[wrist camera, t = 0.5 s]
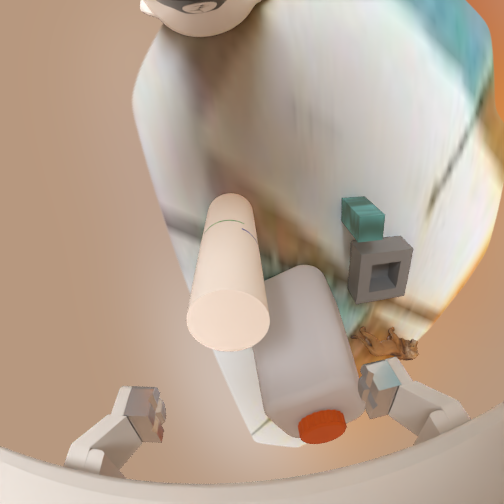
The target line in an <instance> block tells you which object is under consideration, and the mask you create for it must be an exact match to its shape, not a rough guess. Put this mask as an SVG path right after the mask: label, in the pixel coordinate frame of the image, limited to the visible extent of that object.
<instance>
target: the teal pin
mask: <svg viewBox="0 0 504 504" xmlns="http://www.w3.org/2000/svg"><path fill="white" fill-rule="evenodd" d="M384 220H385V214H384V213H383V212H381V211H380V210H379V209H378V208H377V207H376V206H375V205H373V204H372V203H371V202H370V201H369V200H368V199H367V198H365V197H350V198H342V215H341V221H342V222H343V224H344V225H345V226H346V227H347V229H348V230H349V231H350V232H351V234H352V235H353V236H354V238H355V239H356V240H357V242H367V241H376V240H383V230H384Z"/></svg>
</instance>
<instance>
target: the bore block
mask: <svg viewBox="0 0 504 504" xmlns="http://www.w3.org/2000/svg"><path fill="white" fill-rule="evenodd" d="M412 253H413V248H412V247H411V246H410V245H409V244H408V243H407V242H406V241H405V240H404V239H403V238H402V237H401V236H394V237H385V238H383V240H376V241H367V242H357V241H351V254H350V267H349V279H348V290H349V292H350V294H351V296H352V297H353V299H354V301H355V303H356V304H360V303H366V302H372V301H378V300H383V299H389V298H394V297H400V296H404V293H405V289H406V284H407V279H408V274H409V269H410V264H411V259H412Z"/></svg>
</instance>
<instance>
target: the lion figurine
mask: <svg viewBox="0 0 504 504" xmlns="http://www.w3.org/2000/svg"><path fill="white" fill-rule="evenodd" d="M365 330H366V328H365V327H361V329H360V332H361V333H362V334H363V335H364V336H365V337H366V338H365V341H364V340H363V339H362V338H361V337H359V336H356V335H353V336H351V338H358V339H360V340H361V341H362V342H363V343H364V345H365V346H366V347H367V348H368V349H369V352H370V353H371V354H372V355H374V356H382V355H393V356H395V357H397V358H398V359H400V360H413V359H415V358H416V357H417V356H418V354H419V353H418V350H417V343H418V341H416V340H414V339H411V341H409V340H404V339H403V338H398V336H397V335H396V334H395V333H394V332H393V331H394V328H393V327H392V328H390V330H389V333H390V334H391V336H388V337H387V340H384V341H381V342H380V341H379V340H378V339H377V338H376V337H375V336H373V335H371V334H369V333H367V332H365ZM369 340H370V341H371V343H370V342H369Z"/></svg>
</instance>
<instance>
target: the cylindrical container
mask: <svg viewBox="0 0 504 504" xmlns="http://www.w3.org/2000/svg"><path fill="white" fill-rule="evenodd" d="M269 325H270V317H269V310H268V304H267V297H266V291H265V284H264V278H263V271H262V265H261V259H260V252H259V246H258V239H257V233H256V227H255V221H254V214H253V209H252V206H251V204H250V203H249V201H248V200H247V199H246V198H244V197H243V196H241V195H239V194H235V193H226V194H222V195H220V196H218V197H217V198H215V199H214V200H213V201H212V203H211V204H210V206H209V209H208V213H207V217H206V222H205V227H204V231H203V236H202V241H201V245H200V250H199V255H198V260H197V265H196V270H195V275H194V280H193V285H192V290H191V296H190V301H189V307H188V312H187V327H188V329H189V331H190V333H191V334H192V336H193V337H194V338H195V339H196V340H197V341H198V342H199V343H201V344H203V345H204V346H206V347H208V348H211V349H214V350H218V351H239V350H243V349H247V348H249V347H251V346H253V345H255V344H256V343H258V342H259V341H260V340H261V339H262V338H263V337H264V336H265V335H266V333H267V331H268V328H269Z"/></svg>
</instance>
